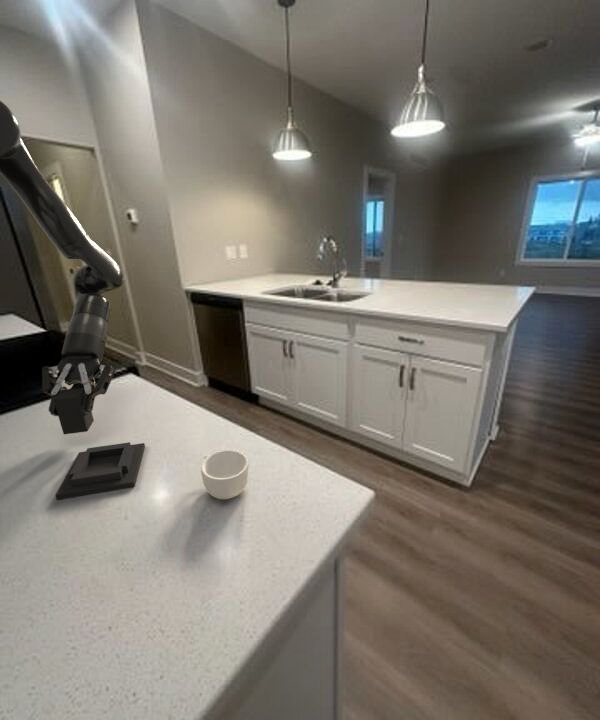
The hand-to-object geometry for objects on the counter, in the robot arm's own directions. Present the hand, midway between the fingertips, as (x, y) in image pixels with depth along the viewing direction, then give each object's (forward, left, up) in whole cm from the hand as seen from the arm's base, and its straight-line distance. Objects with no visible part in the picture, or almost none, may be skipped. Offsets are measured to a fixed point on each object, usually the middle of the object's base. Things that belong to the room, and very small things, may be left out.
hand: (70, 414), depth 69 cm
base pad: (+7, -10, -7) cm, 15 cm away
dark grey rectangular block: (0, +2, -4) cm, 5 cm away
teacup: (+28, -20, -8) cm, 36 cm away
